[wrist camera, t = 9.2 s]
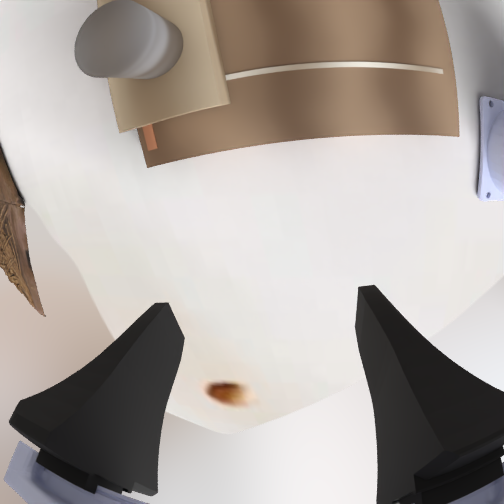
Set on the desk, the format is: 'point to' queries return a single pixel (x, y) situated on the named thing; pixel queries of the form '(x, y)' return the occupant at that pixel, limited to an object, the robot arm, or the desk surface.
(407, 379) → the robot arm
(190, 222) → the desk surface
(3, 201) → the wooden fragment
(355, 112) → the board
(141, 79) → the beige block with knob
